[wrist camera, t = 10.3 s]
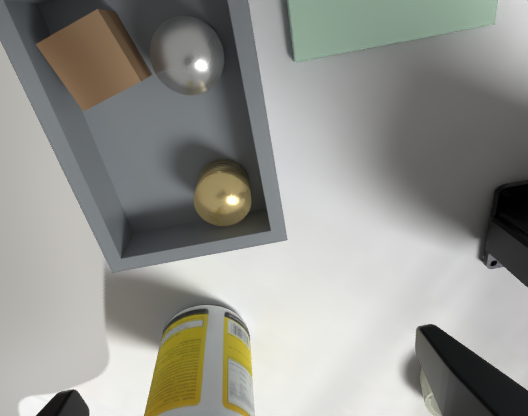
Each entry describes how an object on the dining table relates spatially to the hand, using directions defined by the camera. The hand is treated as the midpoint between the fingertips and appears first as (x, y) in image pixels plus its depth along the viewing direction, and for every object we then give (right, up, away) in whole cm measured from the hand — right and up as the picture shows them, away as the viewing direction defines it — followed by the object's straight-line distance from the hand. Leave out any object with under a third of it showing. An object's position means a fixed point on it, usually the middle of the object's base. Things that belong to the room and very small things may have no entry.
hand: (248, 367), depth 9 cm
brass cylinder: (-2, +6, +11) cm, 13 cm away
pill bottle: (-4, -5, +17) cm, 19 cm away
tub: (-5, +9, +10) cm, 14 cm away
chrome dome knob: (-3, +12, +8) cm, 14 cm away
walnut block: (-7, +11, +8) cm, 15 cm away
